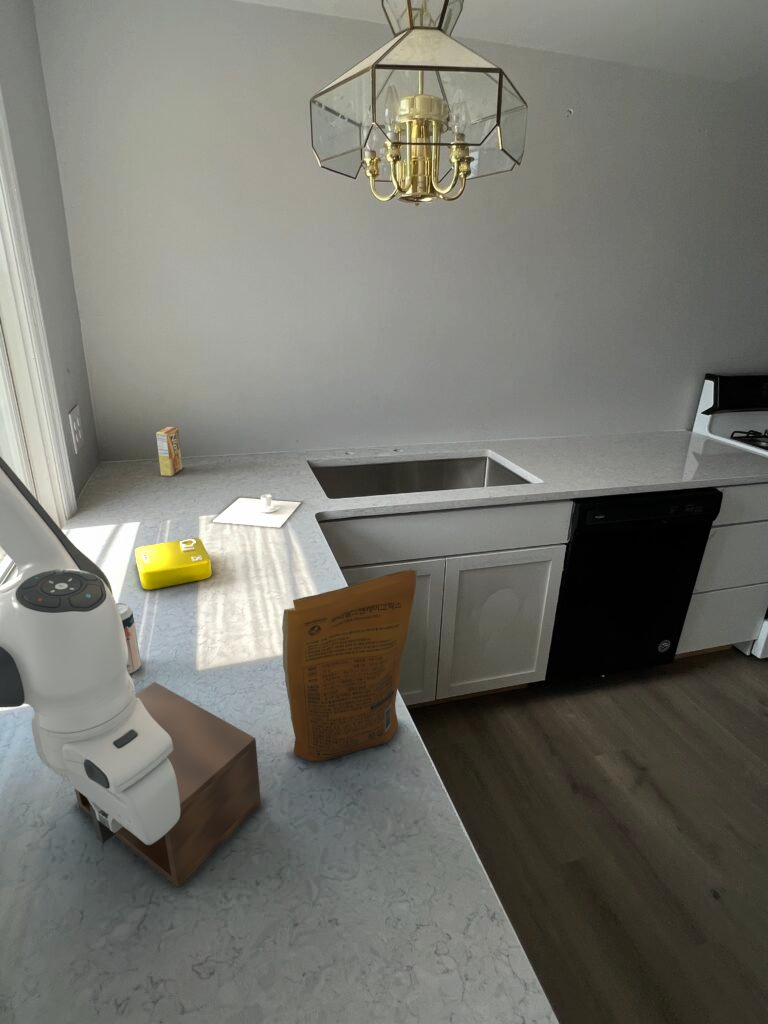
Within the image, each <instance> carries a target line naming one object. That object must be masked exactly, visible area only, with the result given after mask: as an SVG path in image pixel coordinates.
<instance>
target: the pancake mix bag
mask: <svg viewBox="0 0 768 1024" xmlns="http://www.w3.org/2000/svg"><path fill="white" fill-rule="evenodd" d="M418 571H419V570H417V569H406V570H405V569H404V570H401V571H396V572H392V573H388V574H384V575H380V576H376V577H373V578H369V579H367V580H366V579H365V580H363V581H360V582H356V583H354V584H350V585H347V586H345V587H341V588H338V589H333V590H330V591H329V590H328V591H325V592H321V593H318V594H312V595H308V596H303V597H299V598H295V599H293V600H292V603H293V607H290V608H285V609H283V614H282V615H283V616H282V624H281V626H282V627H281V631H282V667H283V671H284V682H285V687H286V692H287V693H286V694H287V699H288V704H289V711H290V721H291V724H292V729H293V734H294V738H295V739H294V744H293V745H294V746H293V752H292V755H294V756H296V757H299V758H301V759H304V760H307V761H309V762H314V763H315V762H318V763H319V762H320V763H323V762H326V761H329V760H332V759H336V758H339V757H342V756H346V755H350V754H353V753H357V752H359V751H363V750H366V749H370V748H374V747H378V746H382V745H385V744H388V743H389V742H390V741H392V740H393V738H394V737H395V736H394V735H395V734H396V732H397V730H398V728H399V725H400V723H399V719H398V716H397V707H396V699H397V694H398V690H399V685H400V682H401V681H400V680H401V667H402V658H403V653H404V649H405V647H406V643H407V640H408V635H409V628H410V623H411V616H412V610H413V607H414V604H415V600H416V592H417V585H418V576H419V575H418V574H419V572H418Z"/></svg>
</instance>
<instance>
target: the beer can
mask: <svg viewBox="0 0 768 1024" xmlns="http://www.w3.org/2000/svg"><path fill="white" fill-rule="evenodd" d="M116 604H117V607H118V610H119V612H120V616H121V619H122V623H123V628H124V632H125V637H126V642H127V648H128V661H127V672H128V674H129V675H131V674H132V673H134V672H136V671H137V670H139V668H141V665H142V660H141V659H142V658H141V654H140V648H139V642H138V636H137V631H136V624H135V617H134V612H133V610H132V608H131V607H130V606H129V605H128V603H124V602H116Z"/></svg>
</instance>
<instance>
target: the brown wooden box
mask: <svg viewBox="0 0 768 1024" xmlns="http://www.w3.org/2000/svg"><path fill="white" fill-rule="evenodd" d="M135 693H136V698H139V699H140V700H141V702H142V703H143V705H144V707H145V708H146V710H147V711H148V713H149V714H150V715H151V717H152V718H153V719H154V720H155V721H156V722H157V723H158V724H159V725H160V726H161V727H162V728H163V729H164V730H165V731H166V732H167V733H168V734H169V736H170V737H171V739H172V742H173V751H172V752H171V753H170V754H169V755H168V756H167V758H168V759H169V761H170V762H171V764H172V766H173V768H174V771H175V775H176V780H177V785H178V792H179V799H180V818H179V820H178V822H177V823H176V824H175V825H174V826H173V827H172V828H171V829H170V830H169V831H168V832H167V833H166V834H165V835H164V836H163V837H161V838H160V839H159V840H158V841H156V842H155V843H153V844H151V845H146V844H145V843H143V842H142V841H141V840H140V839H139V838H137V837H136V836H135V835H134V834H132V833H131V832H130V831H128V830H127V829H126V828H125V827H123V828H121V829H120V830H119V831H118V832H117V833H116V834H114V835H113V837H115V838H116V839H118V840H119V841H120V842H121V843H122V844H124V845H125V846H126V847H128V849H130V850H131V851H132V852H134V853H135V854H136V855H137V856H139V857H140V858H141V859H142V860H143V861H145V862H146V863H147V864H148V865H150V867H152V868H154V869H155V870H156V871H157V872H158V873H160V874H161V875H162V876H163V877H164V878H166V879H167V880H168V881H169V882H170V883H172V884H173V885H174V886H176V887H177V888H178V889H179V888H180V887H181V886H182V885H183V884H184V883H185V882H186V881H187V880H188V879H189V878H190V877H191V876H192V875H193V874H194V873H195V872H196V871H197V870H198V868H199V867H201V866H202V865H203V864H204V863H205V862H206V860H208V858H210V857H211V855H212V854H214V852H215V851H216V850H217V849H218V848H219V847H220V846H221V845H222V844H223V843H224V842H225V841H226V840H227V839H228V838H229V837H230V836H231V835H232V834H233V833H234V832H235V831H236V829H238V827H239V826H241V824H242V823H244V822H245V820H246V819H247V818H248V817H250V815H251V814H252V813H253V812H254V811H255V810H256V809H257V808H259V806H260V805H261V802H262V801H261V791H260V789H261V788H260V778H259V777H260V776H259V765H258V753H257V751H258V750H257V740H256V737H254V736H253V735H251V734H249V733H248V732H245V731H244V730H241V728H238V727H237V726H235V725H233V724H231V723H229V722H227V721H226V720H225V719H222V718H221V717H219V716H217V715H215V714H214V713H211V712H209V711H208V710H207V709H204V708H203V707H201V706H199V705H197V704H195V703H194V702H192V701H190V700H188V699H186V698H185V697H183V696H182V695H180V694H177V693H176V692H174V691H172V690H171V689H169V688H166V686H163V685H161V684H160V683H158V682H156V681H153V682H152V683H150V684H149V685H147V686H145V687H144V688H143V689H140V691H138V692H135ZM73 788H74V787H73ZM74 792H75V797H76V800H77V805H78V808H79V809H81V811H83V812H84V813H86V814H87V815H88V816H89V817H90V818H92V814H91V810H90V806H91V804H90V802H89V801H88V799H87V797H85V796H84V795H83V794H81V793H80V792H79V791H78V790H76V789H75V788H74Z"/></svg>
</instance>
